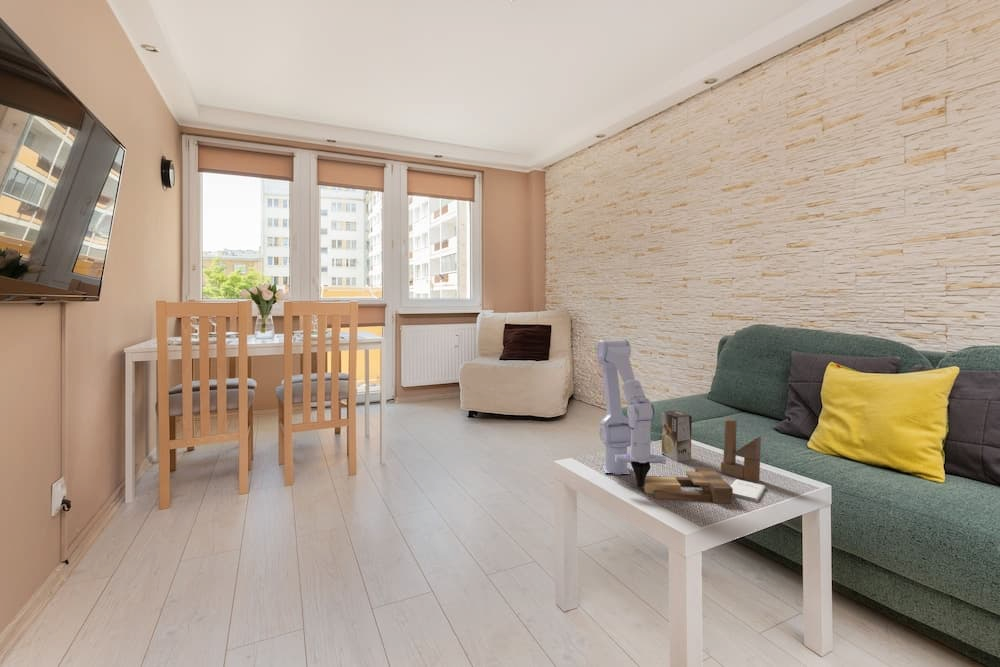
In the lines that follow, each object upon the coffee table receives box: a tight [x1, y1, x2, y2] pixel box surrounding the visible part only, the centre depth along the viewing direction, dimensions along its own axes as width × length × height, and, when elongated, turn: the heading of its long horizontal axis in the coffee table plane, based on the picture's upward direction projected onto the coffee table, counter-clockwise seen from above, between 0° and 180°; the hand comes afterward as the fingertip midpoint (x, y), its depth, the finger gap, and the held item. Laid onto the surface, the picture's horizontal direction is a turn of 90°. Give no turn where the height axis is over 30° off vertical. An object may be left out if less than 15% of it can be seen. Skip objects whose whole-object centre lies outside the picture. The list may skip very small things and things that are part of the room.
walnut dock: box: [646, 467, 733, 504], centre depth 137 cm, size 16×20×4 cm
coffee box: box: [661, 410, 693, 462], centre depth 167 cm, size 9×6×16 cm
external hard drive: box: [730, 478, 766, 503], centre depth 136 cm, size 2×8×12 cm
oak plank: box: [642, 475, 682, 494], centre depth 138 cm, size 6×10×3 cm, turn 84°
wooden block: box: [720, 418, 762, 483], centre depth 148 cm, size 4×11×18 cm, turn 39°
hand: (639, 486), depth 138 cm, fingers closed
